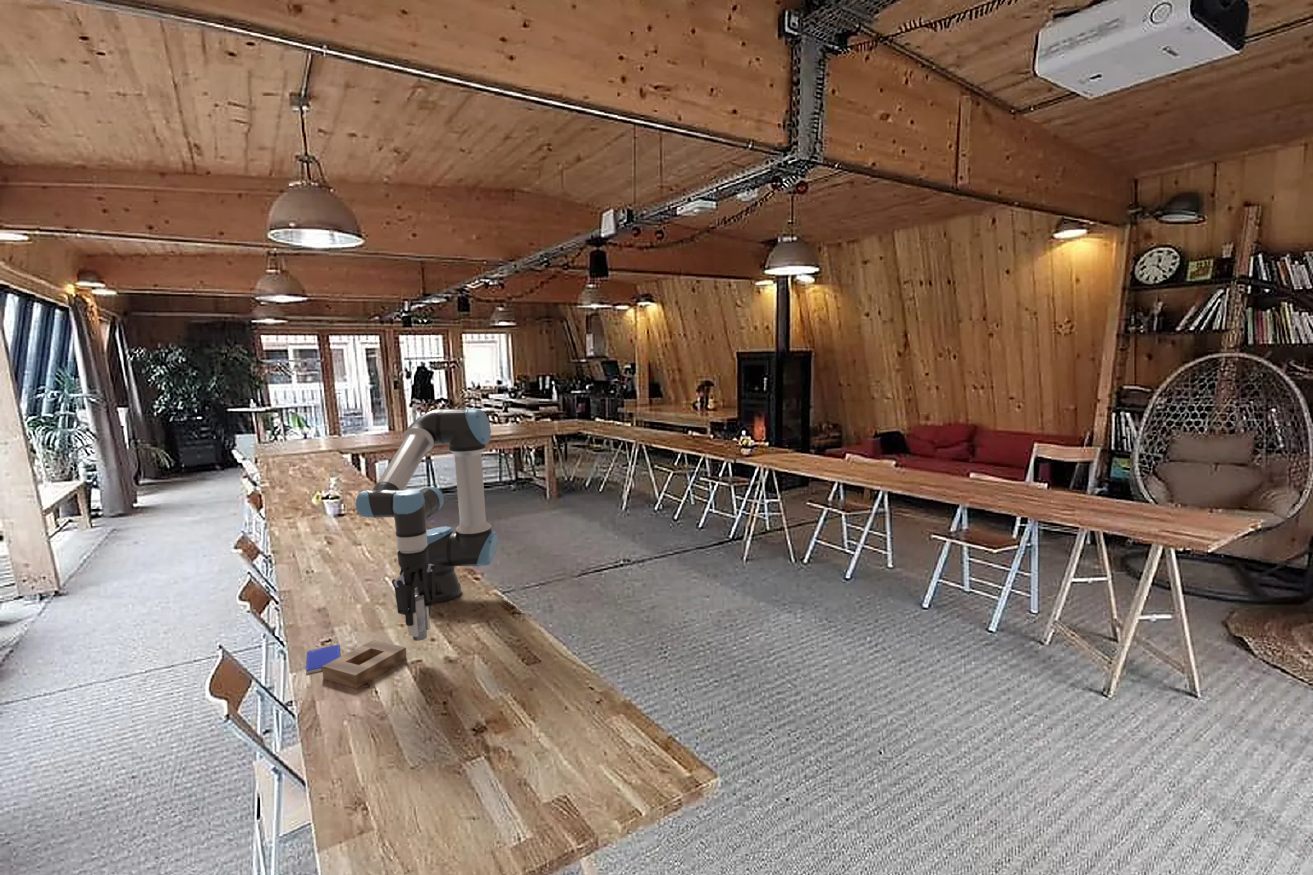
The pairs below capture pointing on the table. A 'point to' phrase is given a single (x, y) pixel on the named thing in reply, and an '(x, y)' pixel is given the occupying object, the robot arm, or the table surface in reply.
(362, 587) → the table surface
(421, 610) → the pin
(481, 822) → the table surface
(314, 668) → the hard drive
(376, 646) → the slot block
